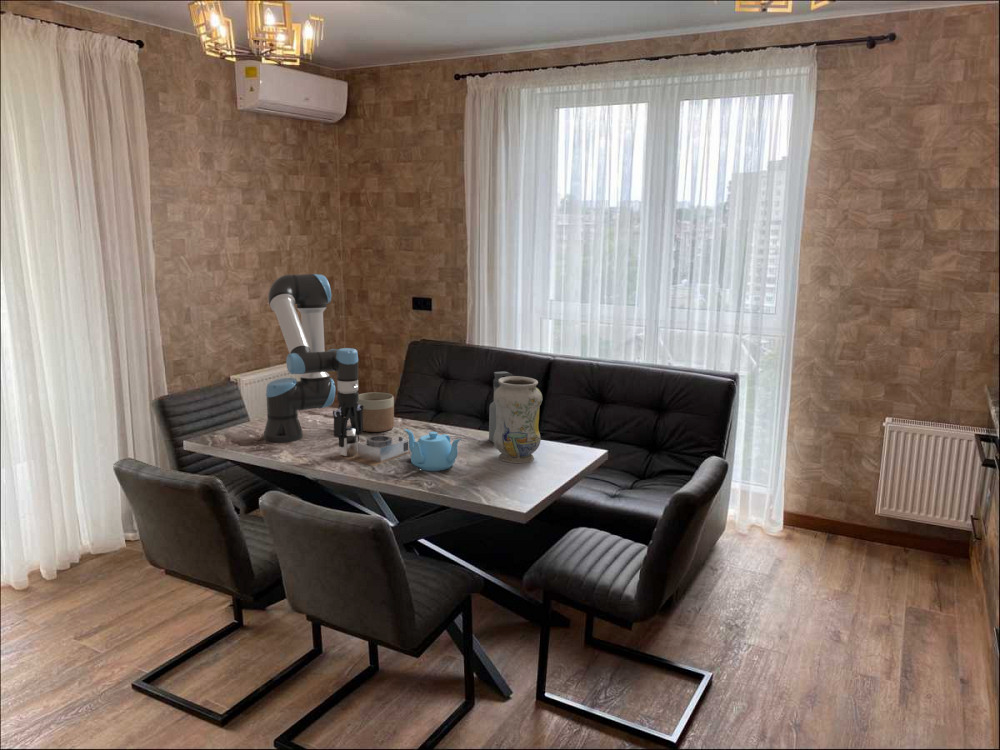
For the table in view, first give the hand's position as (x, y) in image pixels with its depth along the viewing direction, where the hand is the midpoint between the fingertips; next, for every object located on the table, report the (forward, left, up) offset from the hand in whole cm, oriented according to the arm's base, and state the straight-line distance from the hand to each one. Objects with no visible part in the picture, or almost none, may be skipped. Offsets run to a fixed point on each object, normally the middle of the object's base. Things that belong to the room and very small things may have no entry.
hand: (349, 453), depth 277 cm
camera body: (+9, +8, -1) cm, 12 cm away
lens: (0, 0, -1) cm, 1 cm away
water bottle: (+31, +54, -2) cm, 63 cm away
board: (+6, +6, -2) cm, 9 cm away
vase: (+49, +37, -2) cm, 62 cm away
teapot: (+29, +11, -2) cm, 32 cm away
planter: (-22, +37, -2) cm, 43 cm away
